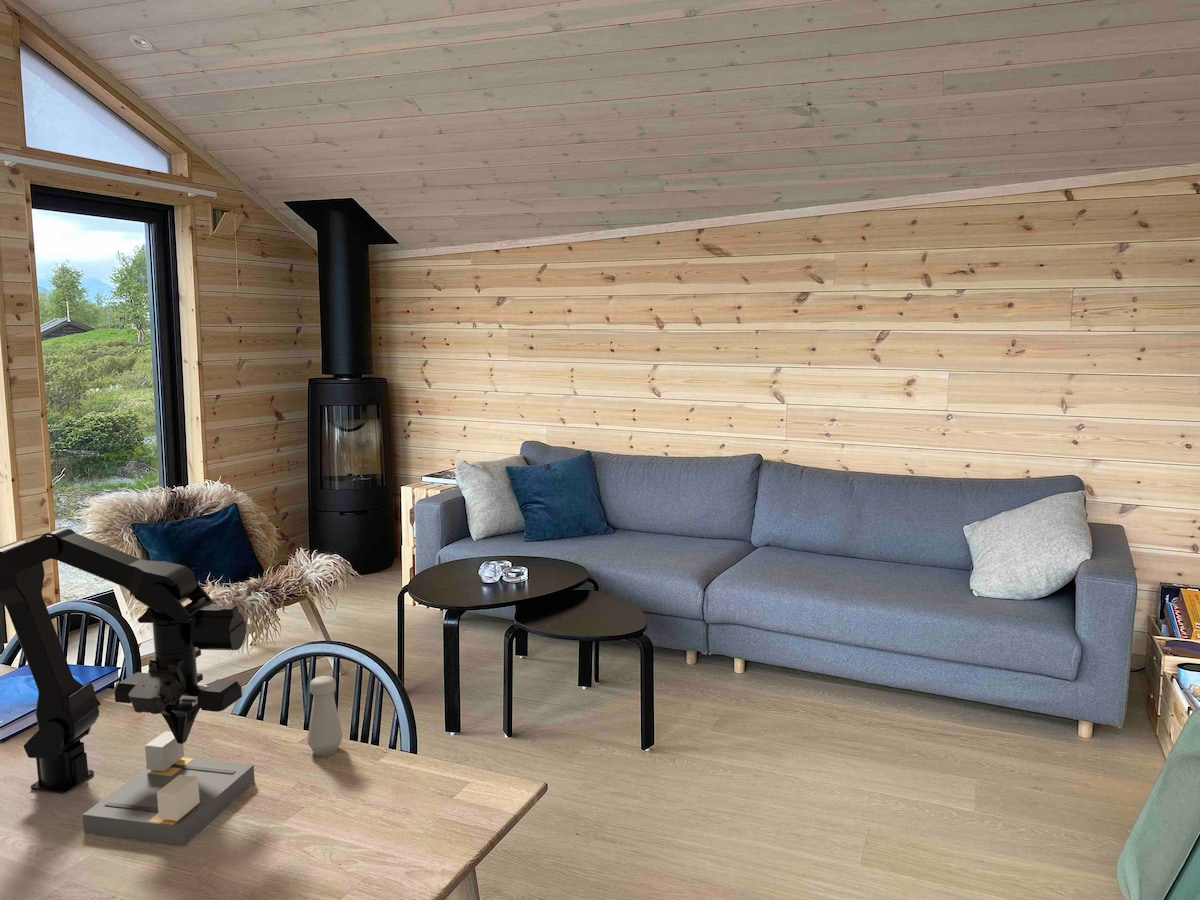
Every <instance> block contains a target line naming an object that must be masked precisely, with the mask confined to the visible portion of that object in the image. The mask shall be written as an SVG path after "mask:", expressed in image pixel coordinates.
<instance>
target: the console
mask: <svg viewBox="0 0 1200 900" xmlns="http://www.w3.org/2000/svg"><path fill="white" fill-rule="evenodd" d="M179 775H186V776H195V777H198V786H199V800H200V802H199V803H198V804H197V805H196V806H195V807H194V808H192V809H191V810H190V811H189V812H188V813H187V814H185V815H184V816H183V817H182V818H181V819H179V820H178V821H174V820H166V819H159V813H158V800H157V792H158V791H159V790H160V789H162V788H163V787H164V786H166V785H167V784H168V783H170V782H171V781H172V780H173V779H175V778H176V777H177V776H179ZM255 782H256V781H255V765H254V764H248V763H241V762H232V761H223V760H222V761H220V760H212V759H211V760H210V759H204V758H203V759H202V758H195V757H185V756H184V757H182V758H181V759H180V760H178V761H177V762H176V763H174V764H173V765H172V766H170V767H169V768H168V769H166V770H165V771H157V770H148V769H147V767H146V768H145V769H143V770H142V771H141V772H139V773H138V774H137V775H135V776H133V777H132V778H131V779H130V780H128V781H126V782H125V783H124V784H122V785H121V786H120V787H118V788H116V789H115V790H114V791H113V792H110V794H109V795H107V796H106V797H104V798H103V799H102V800H100V801H99V802H97V803H96V804H95V805H93V806H92V807H91V808H89V809H88V810H87V811H85V812H84V813H82V822H83V823H82V824H83V834H84V835H90V834H91V835H90V836H98V837H99V836H100V837H106V838H114V839H124V840H128V841H129V840H131V841H139V842H144V843H145V842H147V843H153V844H159V845H160V844H162V845H169V846H176V847H184V846H186V845H187V844H188V843H190V841H191V840H193V838H195V837H196V836H197V835H198V834H199V833H201V831H203V830H204V829H205V828H206V827H207V826H208V825H209V824H210V823H211V822H213V821H214V820H215V819H216V818H217V817H219V815H220V814H222V812H224V811H225V810H226V809H227V808H228V807H229V806H231V804H233V802H235V801H236V800H237V799H238V798H240V796H241V795H242V794H244V793H245V791H247V790H248V789H249V788H251V786H253V785H254V784H255Z"/></svg>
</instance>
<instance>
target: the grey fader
mask: <svg viewBox="0 0 1200 900" xmlns="http://www.w3.org/2000/svg"><path fill="white" fill-rule="evenodd" d="M184 747H185V746H184V743H183V744H178V743H177V741H176V739H175V737H174V735H173V733H172V731H171V730H170V731H167V730H165V731H164V732H163V733H161V734H159V735H158V736H156V737H155V738H153V739H152V740H150V741H149V742H147V743H146V744H145V745H144V748H145V749H144V751H145V761H146V762H145V763H146V764H145V765H146V768H147V769H148V770H157V771H165V770H166V769H168V768H169V767H170V766H172V765H173V764H174V763H176V762H177V761H178V760H180V759H181V758H182V757H185V751H184V750H185V748H184Z"/></svg>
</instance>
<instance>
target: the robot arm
mask: <svg viewBox="0 0 1200 900" xmlns="http://www.w3.org/2000/svg"><path fill="white" fill-rule="evenodd" d="M52 559H53V560H55V561H58V562H61V563H63V564H66V565H68V566H71V567H73V568H75V569H78V570H81V571H83V572H85V573H88V574H90V575H93V576H96V577H97V578H101V579H103V580H106V581H108V582H111V583H113V584H116V585H119V586H120V587H123V588H124V589H126V590H127V591H129V593H130V594H131V595H132V597H134V599H135V600H136V601H138V602H140V603H141V604H143V605H145V606H146V607H147V608H146V610H145V612H144V613H143V614H142V615H141V616H140V617H138V618H137V622H138V624H139V623H140V624H141V623H142V624H152V635H153V644H154V645H153V646H154V656H153V658H150V659H149V663H148V671H147V673H146V672H139V671H137V672H134V673H133V674H132V675H130V676H128V677H126V678H124V679H123V680H121V681H119V682H118V683H117V684H116V686H115V687H114V690H113V695H114V702H115V703H121V704H131V705H132V707H133V710H134V712H136V713H149V714H152V715H158V714H161V715H162V717H163V718H164V720H165V722H166V723H167V726H168V728H169V730H170V732H172V733H173V735H174V737H175V739H176V741H177V743H178V744H183V745H184V743H186V742H187V740H188V738H189V735H190V733H191V730H192V728H193V725H194V723H195V720H196V717H197V715H198V713H199V712H200V709H201V710H202V711H207V712H217V713H218V712H222V711H223V712H224V710H227V708H229V707H230V706H232V705H233V704H234V703H236V702H237V701H238V700H239V699H241V698H242V697H243V690H242V685H241V683H240V682H238V680H233V679H232V680H231V679H230V680H229V679H220V678H217V679H216V680H214V681H213V682H211V683H210V684H208V685H207V684H199V683H200V682H201V681H203V680H204V676H203V673H200V672H198V669H197V666H198V665H197V658H198V657H200V656H202V651H203V650H206V651H207V650H208V651H238V650H240V649H241V648H242V647H243V644H244V643H245V639H246V634H247V622H246V621H245V618H244V616H243V614H242V613H241V612H239V606H238V605H236V604H229V605H224V606H223V605H212V604H214V600H213V599H212V598H211V597H210V596H209V595H208V593H207V592H206V591H205V590H204V588H203V587H202V586H201V585H200V583H199V582H198V581H197V578H196V576H195V573H194V571H193V570H192V569H191V568H189V567H188V566H186V565H183V564H178V563H174V562H169V561H164V560H163V561H162V560H161V561H160V560H147V559H142V558H139V557H138V556H137V557H136V556H134V555H132V554H129V553H126V552H123V551H122V550H119V549H116V548H113V547H111V546H108V545H106V544H104V543H102V542H99V541H96V540H94V539H91V538H90V537H89V538H88V537H86V536H84V535H81V534H79V533H76V531H74V530H73V529H71V528H68V527H59V528H57V529H54V530H51V531H48V532H46V533H43V534H42V535H41V536H40V537H38V538H36V539H34V540H31V541H25V540H16V541H12V543H8V544H5V545H3V546H0V603H1V604H2V605H3V606H5V608H6V610H7V613H8V614H9V618H10V621H11V623H12V626H13V628H14V630H15V631H14V632H15V633H16V636H17V639H18V641H19V644H20V646H21V649H22V651H23V654H24V657H25V660H26V662H27V664H28V667H29V670H30V673H31V676H32V678H33V680H34V683H35V686H36V688H37V691H38V695H37V702H36V709H35V718H36V722H37V728H38V730H37V731H36V732H35V733H34V734H33V736H31V737H30V738H29V739H28V740H27V741H26V742H25V743H24V744H23V748H24V751H25V753H26V755H27V757H28V758H29V759H36V772H37V781H35V783H32V784H31V785H30V789H31V790H33V791H41V792H49V793H50V792H51V793H59V794H65V793H68V792H70V791H71V790H73V789H74V788H75V787H77V786H79V785H80V784H81V783H83V782H85V781H86V780H87V779H89V778H90V777H92V776H93V775H94V774H95V771H94V770H93V769H89V766H88V765H89V763H88V755H87V752H85V743H84V741H81V739H83V738H84V737H85V736H88V735H89V734H90V732H91V728H92V726H93V725H94V724H95V723H96V722H97V720H98V717H99V715H100V709H99V707H100V706H101V705H102V703H101V701H99V700H98V698H97V696H96V693H95V687H94V685H93V684H92V683H91V682H88V683H87V684H84V685H83V684H82V683H81V682H79V681H78V680H77V679H76V678H74V676H73V673H72V671H71V669H70V666H69V663H68V661H67V658H66V655H65V652H64V650H63V647H62V643H61V642H60V640H59V636H58V635H57V631H56V629H55V625H54V624H53V620H52V618H51V616H50V613H49V610H48V608H47V605H46V603H45V599H44V596H43V586H44V580H45V569H44V568H45V567H44V562H46V561H48V560H52ZM187 600H190V602H189V603H187V604H186V605H183V604H182V603H184V602H186V601H187ZM201 650H202V651H201Z"/></svg>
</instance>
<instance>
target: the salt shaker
mask: <svg viewBox="0 0 1200 900" xmlns="http://www.w3.org/2000/svg"><path fill="white" fill-rule="evenodd" d="M336 690H337V682H336V679H335V678H333V677H332V676H330V675H321V676H317V677H314V678H313V679H312V680H310V682H309V692H310V694H311V695H313V697H312V703H311V712H310V719H309V726H308V732H307V745H308V746H309V748H310V749H311V750H312V751H313V754H314V755H315V756H316V757H317V756H318V757H328V756H331V755H334V754H335V755H336V753H337V751H338V749H339V747H340V745H341V743H342V740H343V730H342V726H341V721H340V716H339V714H338V712H339V711H338V708H337V704H336V699H335V695H334V692H336Z"/></svg>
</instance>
